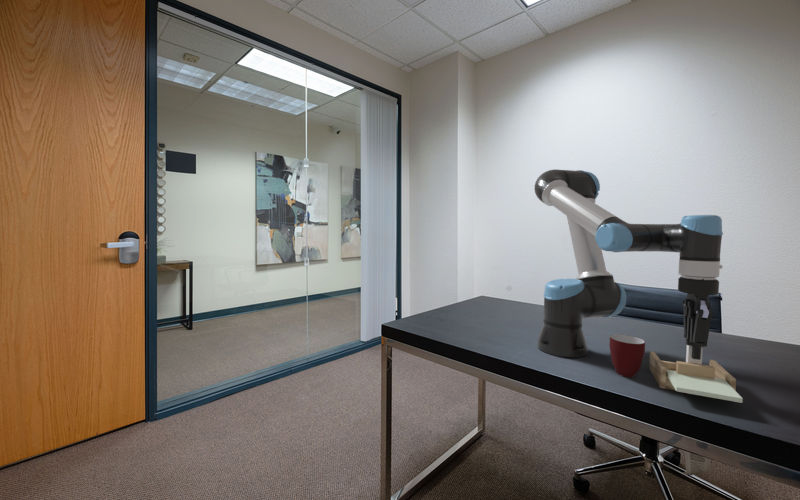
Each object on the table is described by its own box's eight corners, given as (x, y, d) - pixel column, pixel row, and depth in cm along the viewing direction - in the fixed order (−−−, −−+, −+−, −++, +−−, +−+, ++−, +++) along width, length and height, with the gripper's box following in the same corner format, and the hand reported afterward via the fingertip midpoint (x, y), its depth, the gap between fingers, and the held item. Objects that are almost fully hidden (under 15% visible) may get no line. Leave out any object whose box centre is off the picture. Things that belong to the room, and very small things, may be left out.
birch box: (660, 387, 84) (661, 367, 83) (649, 368, 95) (650, 351, 95) (734, 401, 77) (736, 379, 77) (713, 379, 89) (714, 360, 88)
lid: (676, 391, 76) (677, 375, 76) (665, 373, 85) (666, 359, 85) (742, 402, 71) (743, 386, 71) (723, 382, 80) (724, 367, 80)
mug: (600, 363, 99) (602, 331, 98) (631, 366, 97) (633, 333, 96) (614, 379, 88) (616, 342, 88) (649, 382, 86) (651, 345, 86)
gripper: (730, 282, 74) (724, 383, 75) (708, 275, 86) (703, 363, 87) (687, 279, 78) (682, 377, 79) (671, 273, 89) (667, 358, 90)
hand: (693, 370), depth 83 cm, fingers closed
